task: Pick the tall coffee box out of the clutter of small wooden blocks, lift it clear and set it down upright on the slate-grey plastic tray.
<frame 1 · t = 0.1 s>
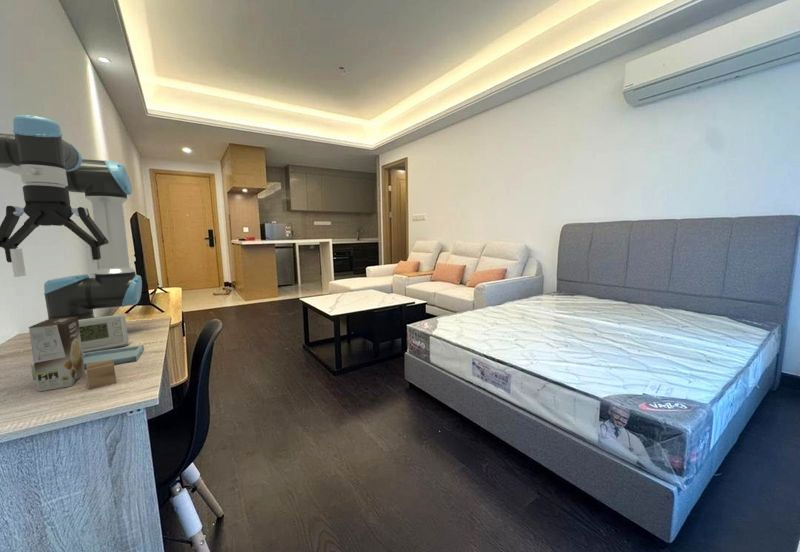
hand: (58, 274, 80), 28 cm above the table, fingers open, 13 cm apart
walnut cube: (102, 383, 83), on the table
coffee box: (63, 382, 84), on the table
tray: (109, 359, 99), on the table
digital clock: (97, 350, 108), on the table
sage block: (49, 375, 88), on the table
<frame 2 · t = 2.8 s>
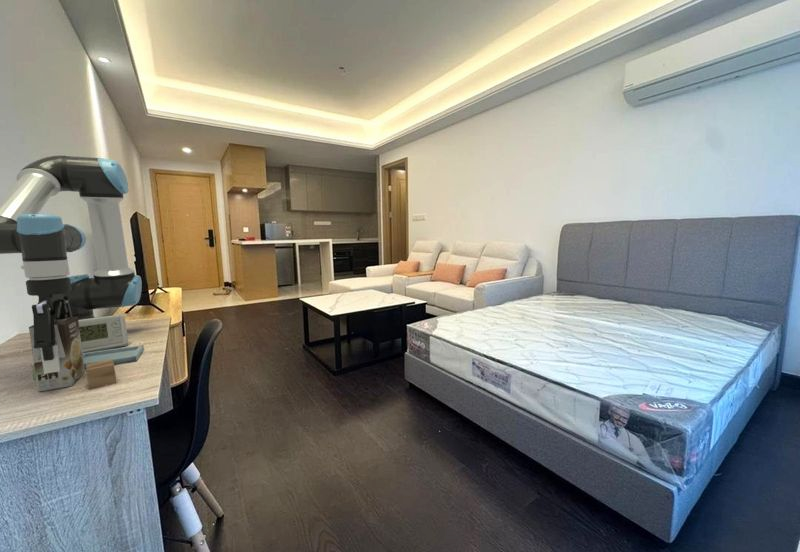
hand: (60, 365, 83), 5 cm above the table, fingers closed on coffee box, 9 cm apart
coffee box: (63, 382, 84), on the table, touching gripper
everything else where it was.
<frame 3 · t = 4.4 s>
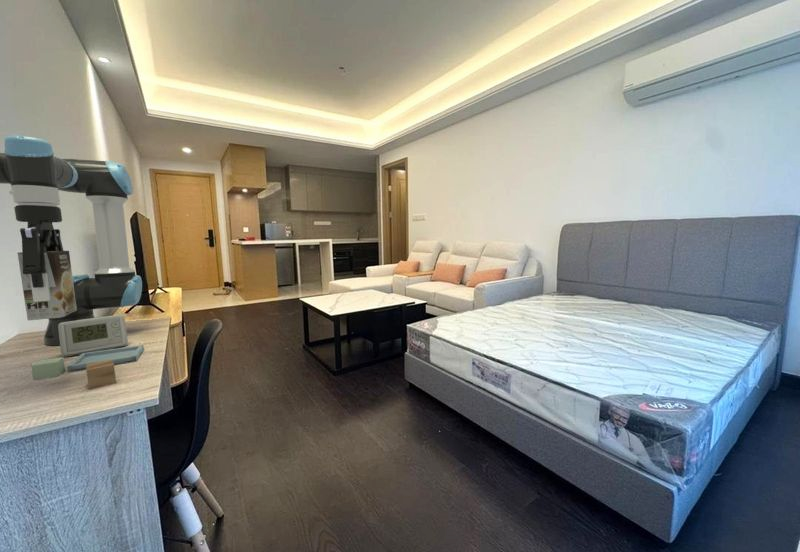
hand: (51, 297, 81), 22 cm above the table, fingers closed on coffee box, 9 cm apart
coffee box: (54, 316, 82), point 17 cm above the table, touching gripper
everything else where it was.
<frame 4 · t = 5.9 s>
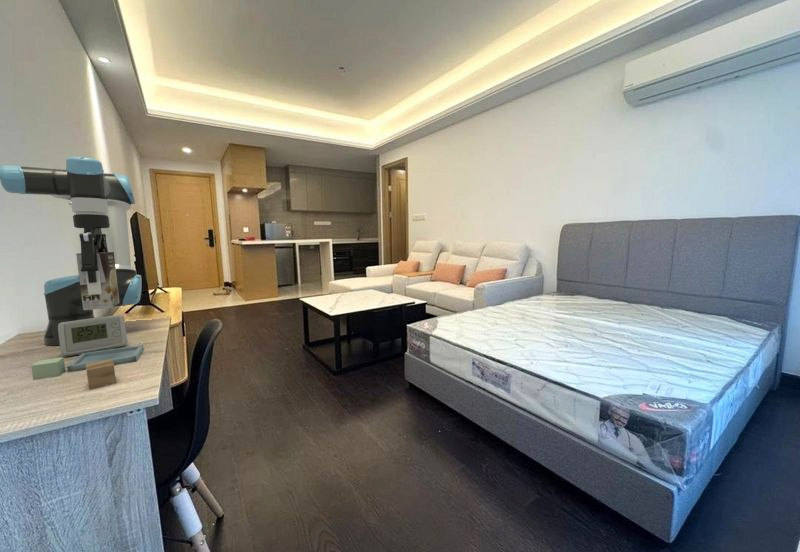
hand: (100, 291, 96), 21 cm above the table, fingers closed on coffee box, 9 cm apart
coffee box: (102, 307, 97), point 16 cm above the table, touching gripper
everything else where it was.
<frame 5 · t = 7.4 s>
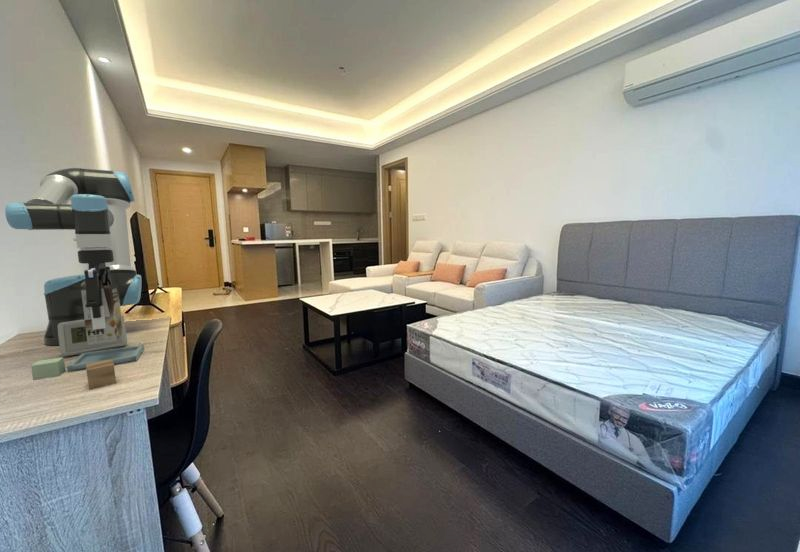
hand: (104, 324, 97), 11 cm above the table, fingers closed on coffee box, 9 cm apart
coffee box: (106, 340, 98), point 6 cm above the table, touching gripper
everything else where it was.
when the fingers open (6 cm above the table, at t = 8.9 s): coffee box drops 1 cm, resting on tray.
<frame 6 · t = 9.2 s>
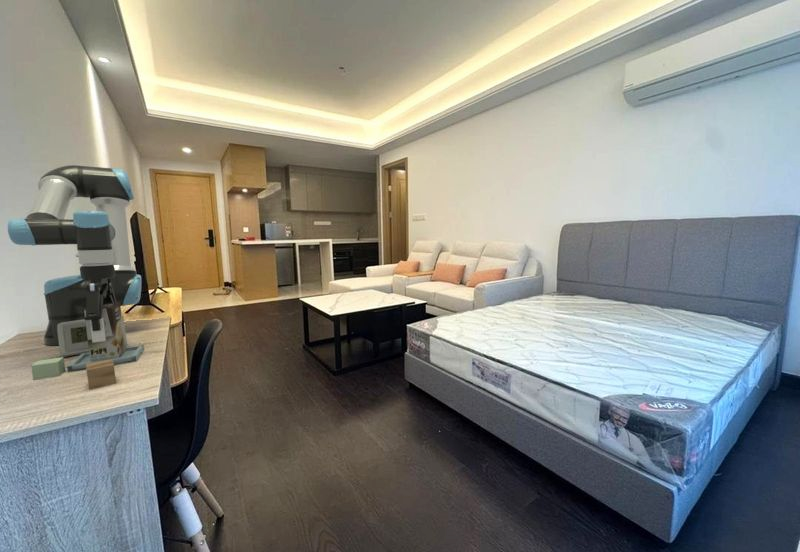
hand: (106, 335, 98), 8 cm above the table, fingers open, 13 cm apart
coffee box: (109, 358, 99), resting on tray
everything else where it was.
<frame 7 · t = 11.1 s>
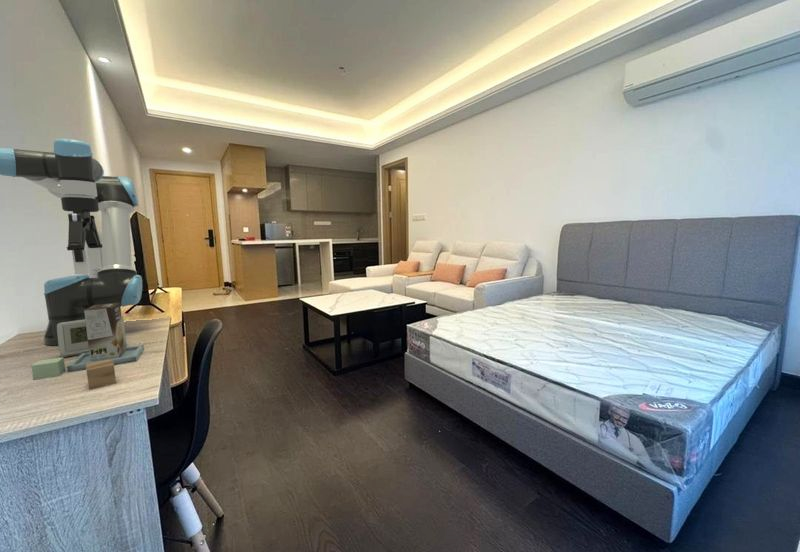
hand: (89, 271, 96), 27 cm above the table, fingers open, 13 cm apart
nothing on the table moved.
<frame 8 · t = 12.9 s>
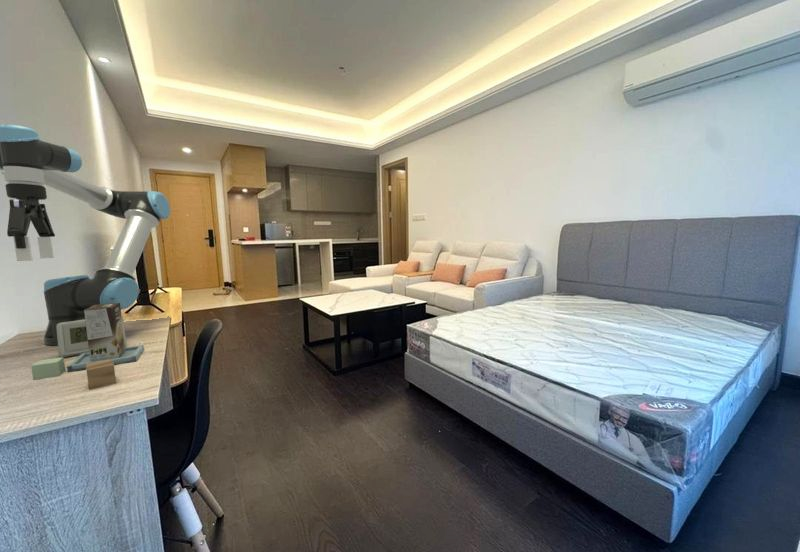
hand: (36, 259, 95), 31 cm above the table, fingers open, 13 cm apart
nothing on the table moved.
at the end: coffee box inside the target area on the tray (0.3 cm from its centre), point 0.4 cm above the tray's base; coffee box tilted 0°; the gripper is holding nothing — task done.
